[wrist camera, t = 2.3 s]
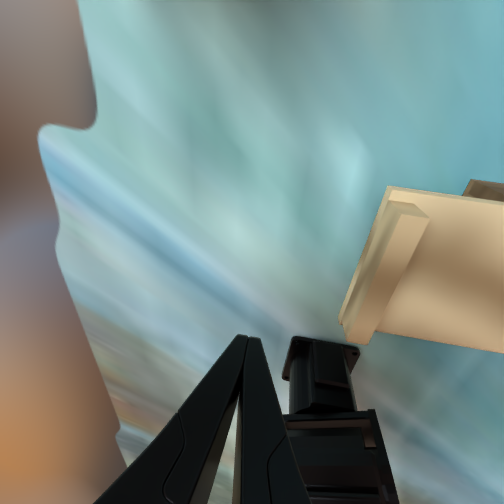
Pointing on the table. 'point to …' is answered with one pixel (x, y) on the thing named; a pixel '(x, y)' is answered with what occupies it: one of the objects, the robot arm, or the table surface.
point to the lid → (430, 272)
